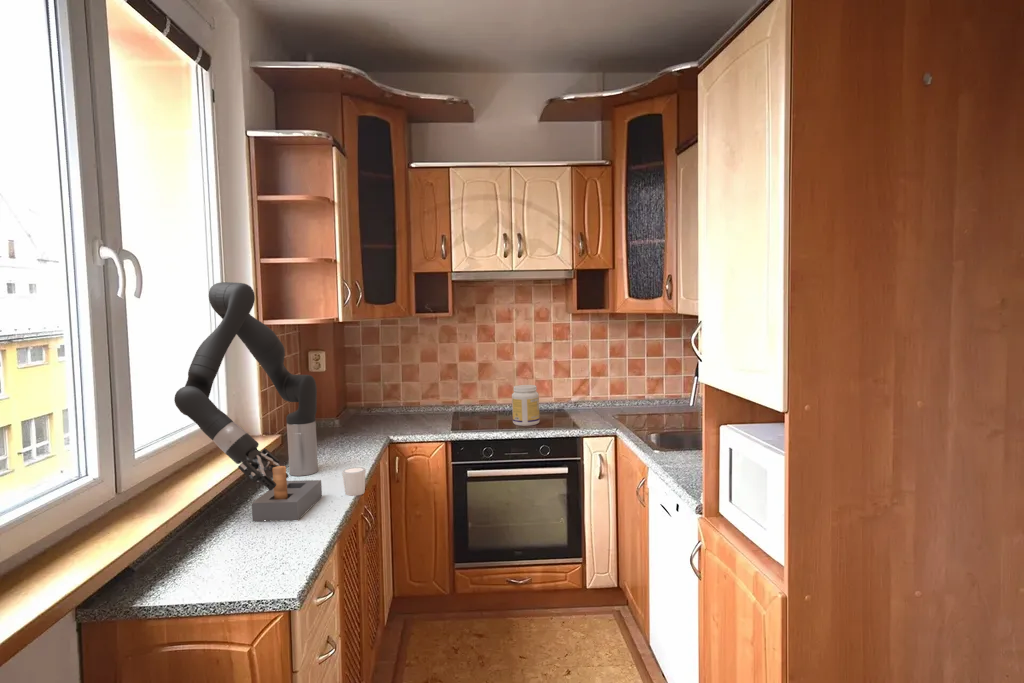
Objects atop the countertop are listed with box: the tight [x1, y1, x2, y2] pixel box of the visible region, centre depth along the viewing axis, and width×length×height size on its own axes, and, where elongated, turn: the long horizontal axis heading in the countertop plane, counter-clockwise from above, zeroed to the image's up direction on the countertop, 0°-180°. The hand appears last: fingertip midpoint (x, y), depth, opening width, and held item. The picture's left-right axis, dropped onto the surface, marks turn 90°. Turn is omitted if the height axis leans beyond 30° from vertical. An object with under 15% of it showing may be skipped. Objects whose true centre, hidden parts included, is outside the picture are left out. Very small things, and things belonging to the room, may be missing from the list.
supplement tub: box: [511, 384, 540, 427], centre depth 285 cm, size 12×12×17 cm
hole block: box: [251, 479, 323, 522], centre depth 178 cm, size 20×12×5 cm, turn 179°
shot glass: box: [341, 466, 367, 497], centre depth 190 cm, size 7×7×7 cm
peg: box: [272, 465, 288, 500], centre depth 172 cm, size 3×3×12 cm
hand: (280, 483), depth 172 cm, fingers open, 8 cm apart
